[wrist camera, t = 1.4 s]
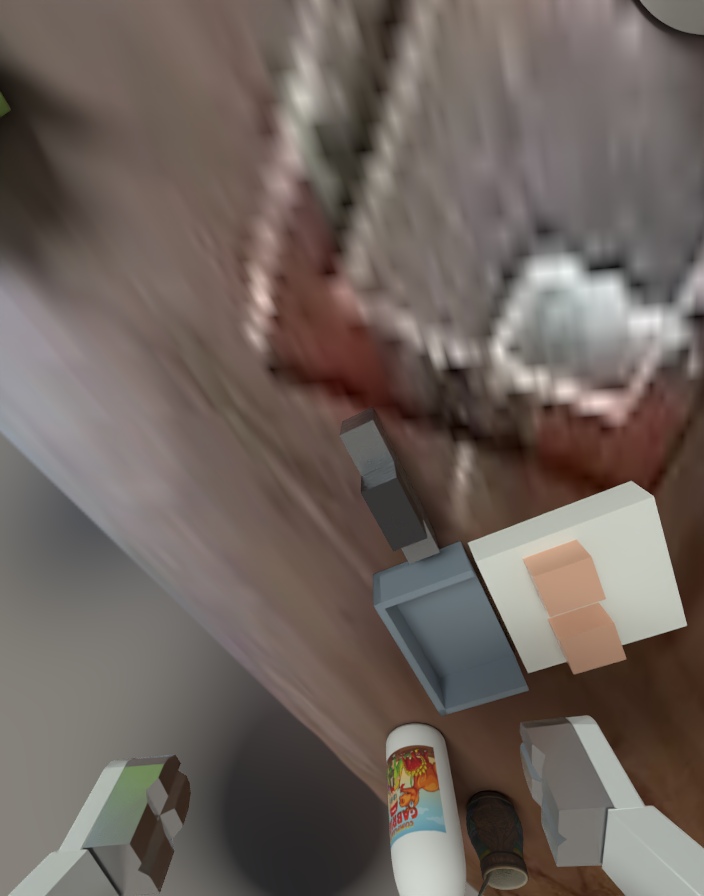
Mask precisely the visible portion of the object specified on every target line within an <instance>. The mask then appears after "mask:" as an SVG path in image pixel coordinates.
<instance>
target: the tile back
mask: <svg viewBox="0 0 704 896" xmlns="http://www.w3.org/2000/svg"><path fill="white" fill-rule="evenodd" d="M548 621H549V624H550V626H551V629H552V631H553V633H554V636H555V638H556V640H557V643H558V645H559V648H560V650H561V652H562V654H563V656H564V658H565V660H566V662H567V663H568V665H569V667H570V669H571V671H572V672H573V674H578V673H581V672H585V671H588V670H591V669H595V668H598V667H602V666H605V665H609V664H612V663H615V662H619V661H622V660H626V656H625V653H624V650H623V647H622V644H621V641H620V638H619V635H618V633H617V630H616V627H615V624H614V622H613V621H612V619H611V618H610V617H609V615H608V614H607V613H606V611H605V610H604V609H603V607H602V606H601V605H600V604H599V602H598V603H595V604H592V605H589V606H586V607H582V608H579V609H576V610H573V611H570V612H567V613H564V614H561V615H558V616H555V617H552V618H548Z"/></svg>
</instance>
